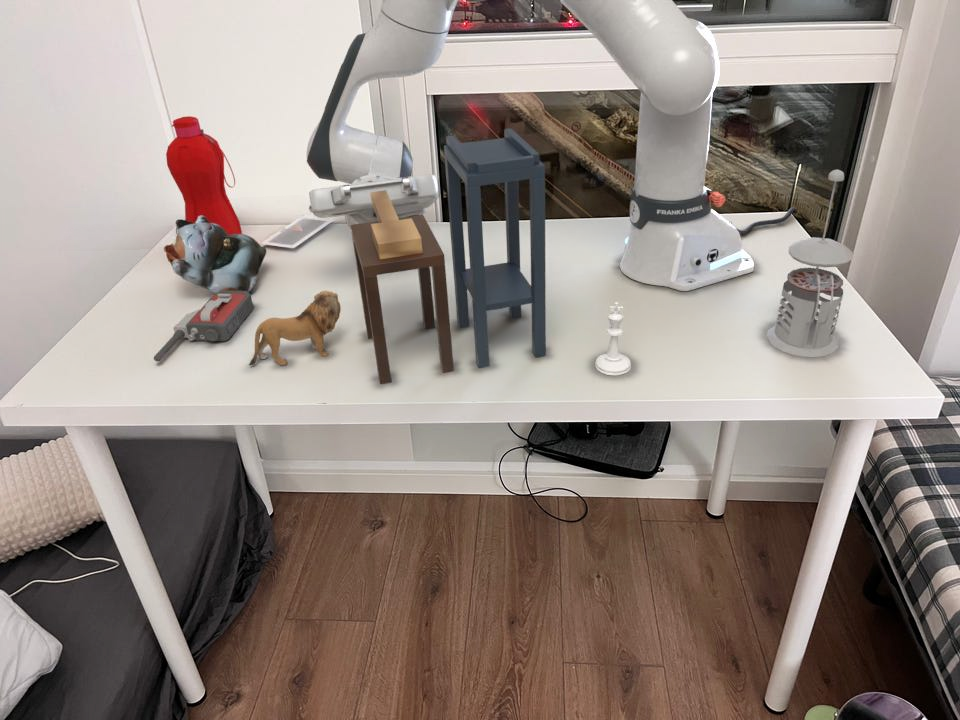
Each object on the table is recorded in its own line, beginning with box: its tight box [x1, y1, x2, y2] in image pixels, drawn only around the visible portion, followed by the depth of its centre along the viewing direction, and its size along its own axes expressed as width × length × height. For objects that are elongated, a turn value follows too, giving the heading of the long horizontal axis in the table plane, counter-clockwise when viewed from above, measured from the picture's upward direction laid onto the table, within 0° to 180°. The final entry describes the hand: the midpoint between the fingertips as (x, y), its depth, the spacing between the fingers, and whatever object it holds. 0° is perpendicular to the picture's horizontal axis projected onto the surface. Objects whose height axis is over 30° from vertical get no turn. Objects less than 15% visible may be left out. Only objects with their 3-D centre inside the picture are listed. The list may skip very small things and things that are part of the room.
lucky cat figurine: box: [163, 215, 267, 294], centre depth 130 cm, size 15×12×14 cm
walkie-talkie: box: [153, 290, 254, 362], centre depth 118 cm, size 9×4×20 cm
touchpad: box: [259, 214, 336, 249], centre depth 150 cm, size 8×15×2 cm, turn 158°
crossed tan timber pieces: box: [370, 190, 423, 259], centre depth 105 cm, size 6×20×2 cm, turn 14°
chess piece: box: [594, 301, 632, 377], centre depth 103 cm, size 5×5×10 cm
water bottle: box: [165, 116, 243, 235], centre depth 141 cm, size 9×11×25 cm
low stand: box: [350, 215, 455, 385], centre depth 107 cm, size 10×14×18 cm
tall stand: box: [443, 127, 547, 369], centre depth 105 cm, size 10×14×29 cm
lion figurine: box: [248, 290, 342, 366], centre depth 110 cm, size 15×5×9 cm, turn 117°
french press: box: [766, 169, 854, 358], centre depth 102 cm, size 10×12×25 cm
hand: (376, 186), depth 113 cm, fingers open, 8 cm apart
